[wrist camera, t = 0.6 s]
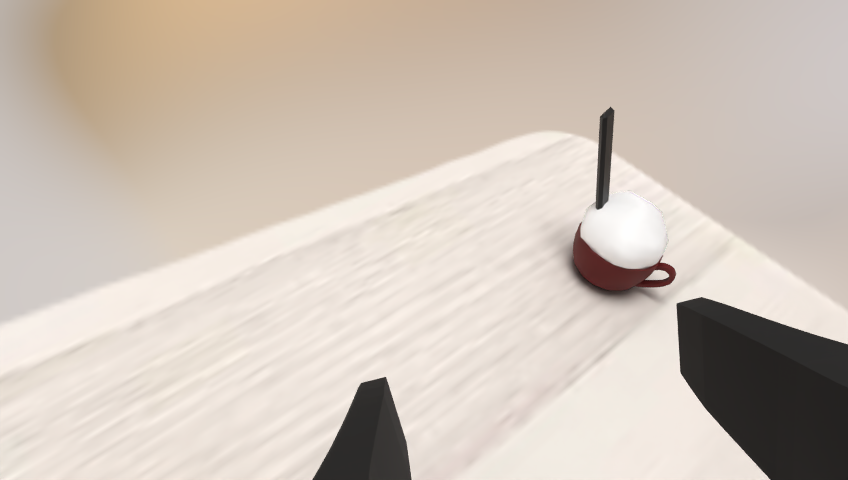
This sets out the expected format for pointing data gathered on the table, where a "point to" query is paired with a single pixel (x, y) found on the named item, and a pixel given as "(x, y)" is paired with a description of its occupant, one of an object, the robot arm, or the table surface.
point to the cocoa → (619, 231)
